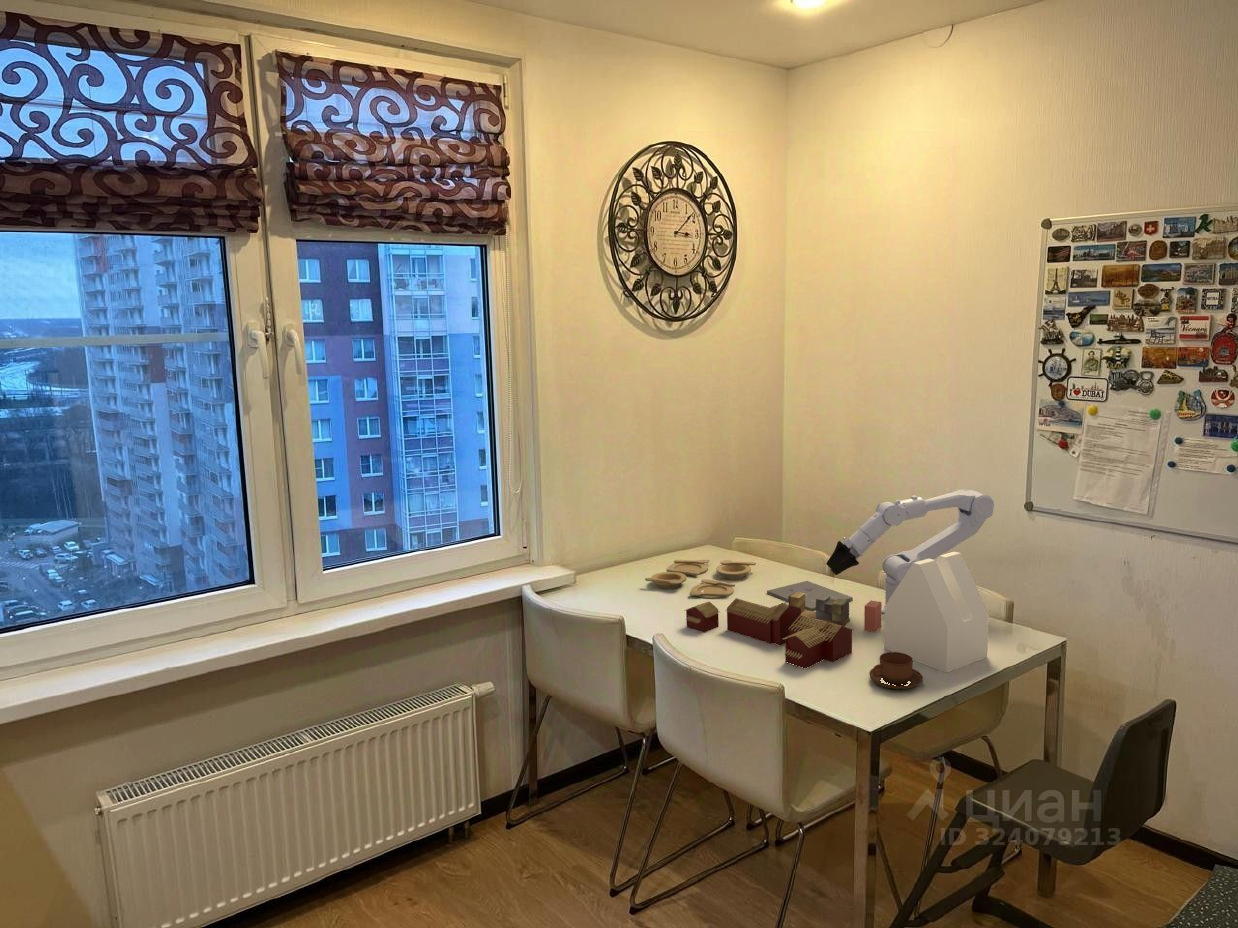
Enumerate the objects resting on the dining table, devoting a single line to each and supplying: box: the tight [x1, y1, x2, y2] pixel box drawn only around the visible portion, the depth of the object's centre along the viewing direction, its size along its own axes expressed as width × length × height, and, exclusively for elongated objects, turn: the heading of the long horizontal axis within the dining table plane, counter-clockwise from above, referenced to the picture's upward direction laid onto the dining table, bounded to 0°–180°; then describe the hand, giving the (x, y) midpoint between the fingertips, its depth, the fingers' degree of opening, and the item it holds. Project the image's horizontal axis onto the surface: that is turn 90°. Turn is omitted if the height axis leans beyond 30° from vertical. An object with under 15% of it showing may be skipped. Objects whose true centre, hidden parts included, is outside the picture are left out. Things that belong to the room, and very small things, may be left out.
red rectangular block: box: [863, 599, 883, 633], centre depth 246 cm, size 3×5×7 cm, turn 146°
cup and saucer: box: [868, 651, 924, 690], centre depth 212 cm, size 12×12×6 cm
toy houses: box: [684, 597, 854, 669], centre depth 241 cm, size 45×20×10 cm, turn 42°
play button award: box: [766, 580, 854, 612], centre depth 274 cm, size 16×2×20 cm
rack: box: [787, 592, 851, 627], centre depth 255 cm, size 17×4×6 cm, turn 56°
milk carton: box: [883, 551, 990, 674], centre depth 227 cm, size 19×15×25 cm
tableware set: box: [644, 559, 757, 599], centre depth 293 cm, size 35×29×4 cm
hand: (831, 569), depth 254 cm, fingers open, 7 cm apart
